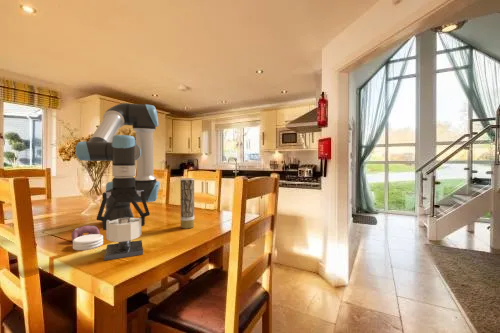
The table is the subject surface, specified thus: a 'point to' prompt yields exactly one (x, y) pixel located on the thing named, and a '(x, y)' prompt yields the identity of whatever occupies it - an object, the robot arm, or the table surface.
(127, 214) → the robot arm
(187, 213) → the paper tube
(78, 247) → the coaster
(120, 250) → the post stand
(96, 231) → the purple curved piece
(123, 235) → the ring
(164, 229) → the table surface
